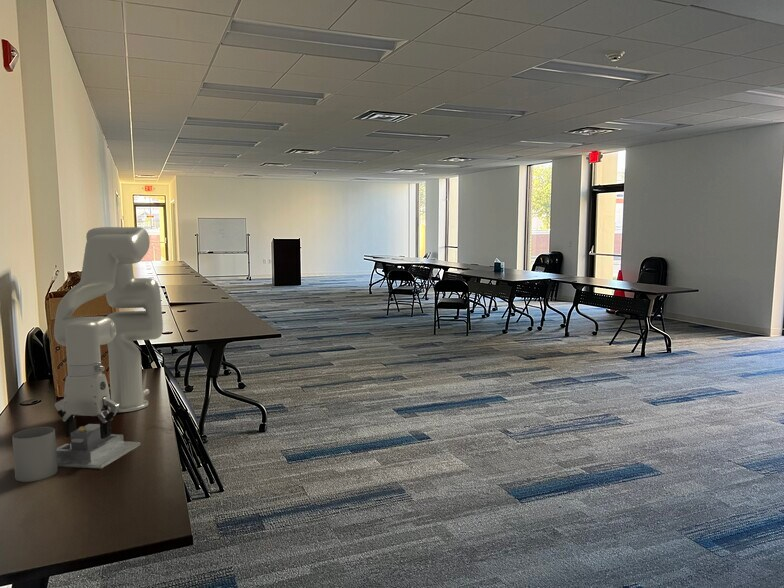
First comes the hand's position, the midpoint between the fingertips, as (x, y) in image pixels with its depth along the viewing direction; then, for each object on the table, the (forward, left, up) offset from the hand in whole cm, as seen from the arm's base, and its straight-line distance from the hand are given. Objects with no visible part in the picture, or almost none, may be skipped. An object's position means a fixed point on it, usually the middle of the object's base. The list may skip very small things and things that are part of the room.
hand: (88, 436), depth 145 cm
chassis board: (0, 0, -5) cm, 5 cm away
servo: (0, 0, -4) cm, 4 cm away
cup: (+13, -4, -5) cm, 14 cm away
